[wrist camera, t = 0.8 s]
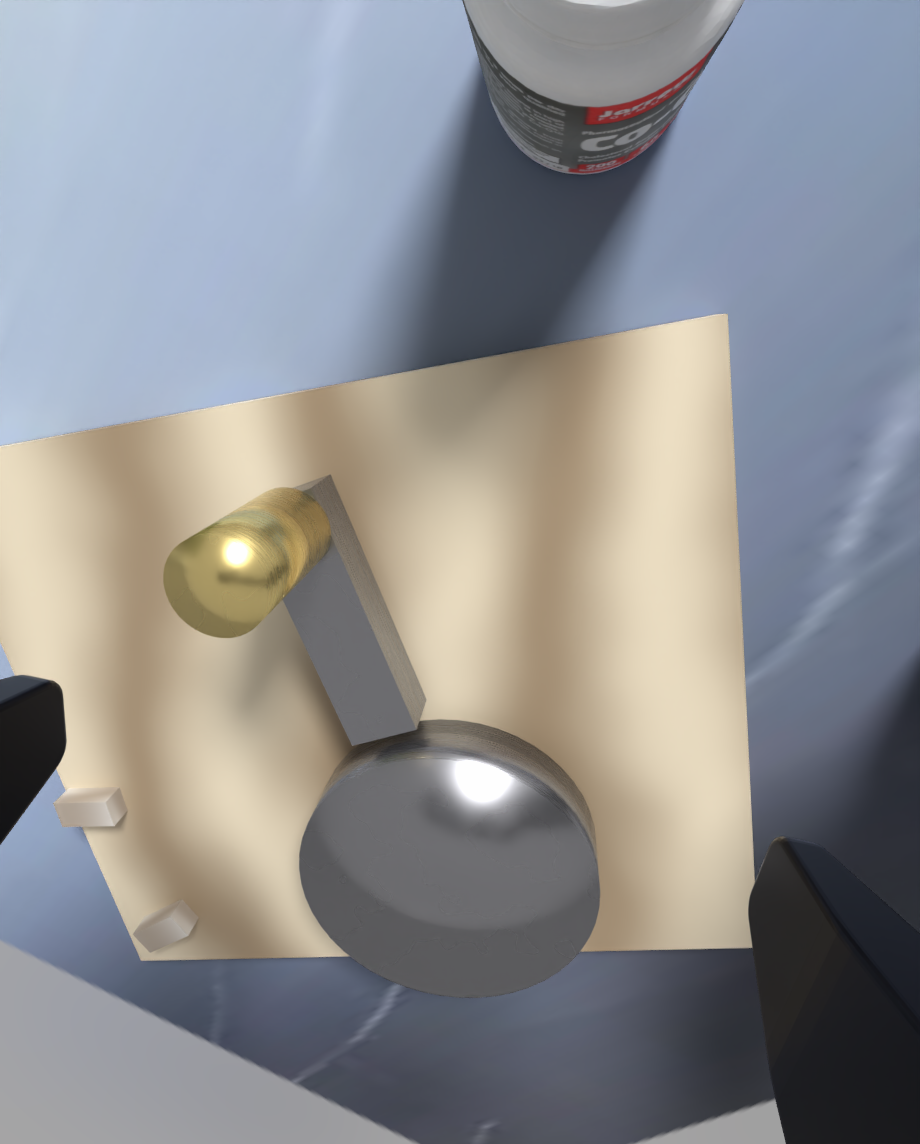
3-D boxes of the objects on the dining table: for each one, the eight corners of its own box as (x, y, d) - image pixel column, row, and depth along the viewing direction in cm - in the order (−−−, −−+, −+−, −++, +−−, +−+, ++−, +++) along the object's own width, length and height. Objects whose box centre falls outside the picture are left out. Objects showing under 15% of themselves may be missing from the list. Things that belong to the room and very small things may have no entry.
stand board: (718, 314, 17) (736, 314, 15) (749, 922, 24) (764, 969, 22) (-52, 455, 21) (-104, 467, 20) (155, 939, 28) (129, 979, 26)
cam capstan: (630, 920, 22) (653, 1104, 17) (381, 961, 24) (334, 1136, 19) (447, 419, 17) (401, 463, 12) (156, 525, 19) (10, 601, 14)
